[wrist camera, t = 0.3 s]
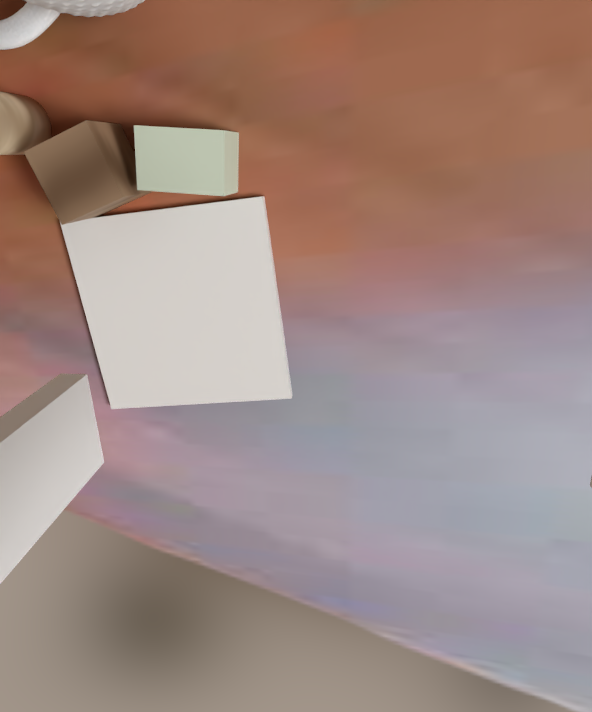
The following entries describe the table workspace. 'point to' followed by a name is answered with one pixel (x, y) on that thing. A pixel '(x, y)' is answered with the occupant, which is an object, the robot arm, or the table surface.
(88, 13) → the mug
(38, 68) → the table surface
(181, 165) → the sage block
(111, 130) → the walnut block
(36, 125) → the beech cylinder
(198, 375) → the pad
